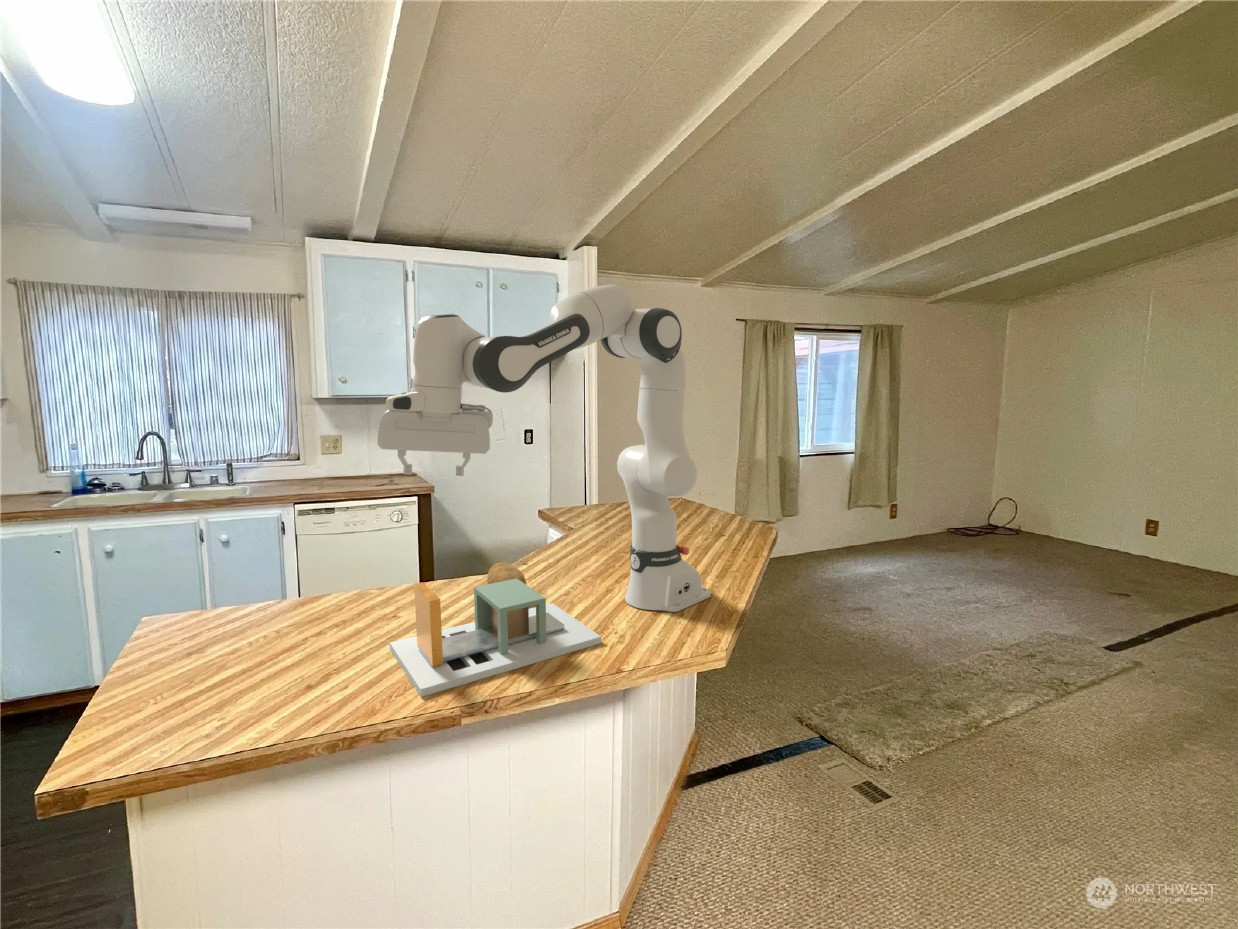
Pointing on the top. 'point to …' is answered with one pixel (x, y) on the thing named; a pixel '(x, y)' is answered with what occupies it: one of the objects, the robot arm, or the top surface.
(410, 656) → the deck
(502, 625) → the tunnel
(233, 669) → the top surface
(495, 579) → the potato
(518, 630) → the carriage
